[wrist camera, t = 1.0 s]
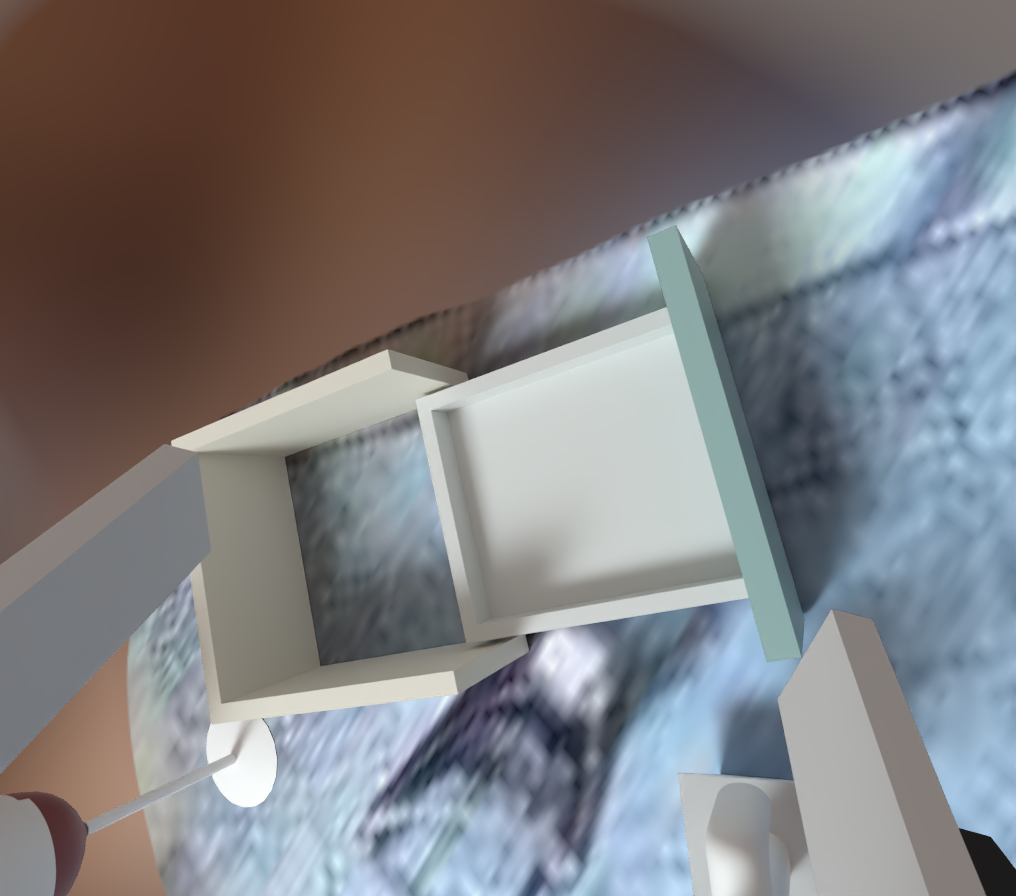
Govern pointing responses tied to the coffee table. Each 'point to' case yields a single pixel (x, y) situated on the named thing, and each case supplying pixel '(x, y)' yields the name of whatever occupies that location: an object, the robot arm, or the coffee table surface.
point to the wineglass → (120, 811)
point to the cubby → (278, 561)
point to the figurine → (745, 836)
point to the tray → (610, 479)
